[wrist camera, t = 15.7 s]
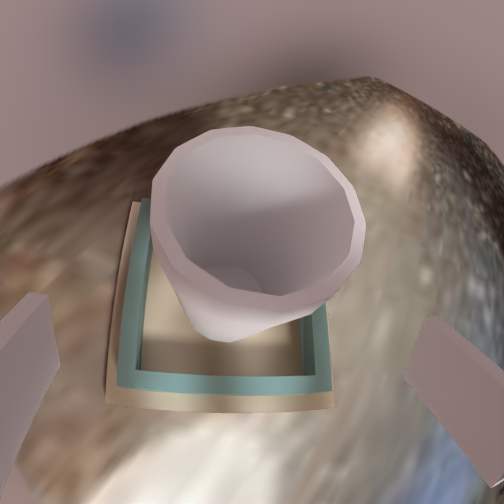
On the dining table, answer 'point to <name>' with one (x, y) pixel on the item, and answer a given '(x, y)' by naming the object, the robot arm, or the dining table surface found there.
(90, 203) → the dining table surface
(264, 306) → the foam cup
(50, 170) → the dining table surface
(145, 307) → the plate
